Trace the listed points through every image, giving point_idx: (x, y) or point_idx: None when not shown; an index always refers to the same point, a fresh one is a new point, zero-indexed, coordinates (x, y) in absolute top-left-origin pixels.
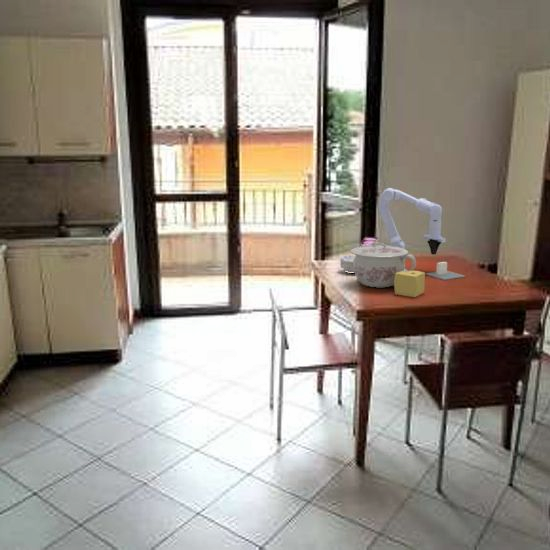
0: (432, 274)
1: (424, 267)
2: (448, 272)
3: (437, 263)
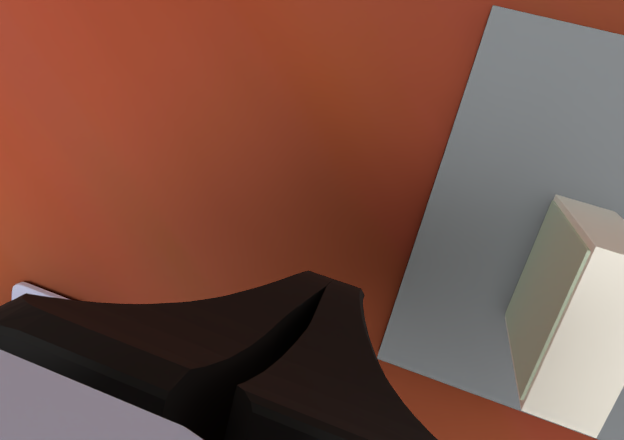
0: (472, 356)
1: (141, 30)
2: (591, 110)
3: (535, 410)
